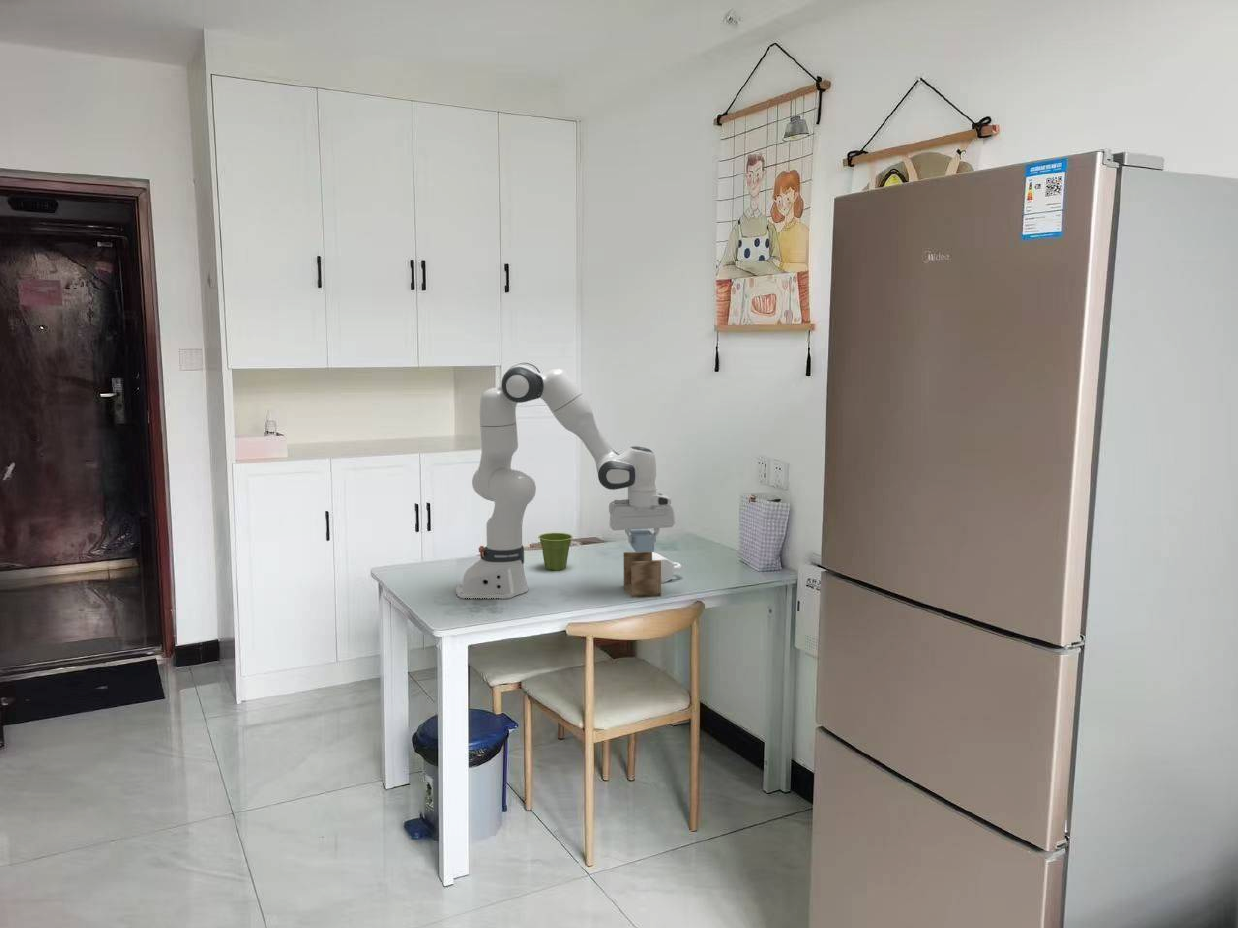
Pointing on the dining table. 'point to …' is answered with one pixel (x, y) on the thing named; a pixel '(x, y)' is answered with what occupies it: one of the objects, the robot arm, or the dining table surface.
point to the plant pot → (555, 549)
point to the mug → (666, 567)
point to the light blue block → (642, 540)
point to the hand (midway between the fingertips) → (642, 542)
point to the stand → (642, 574)
